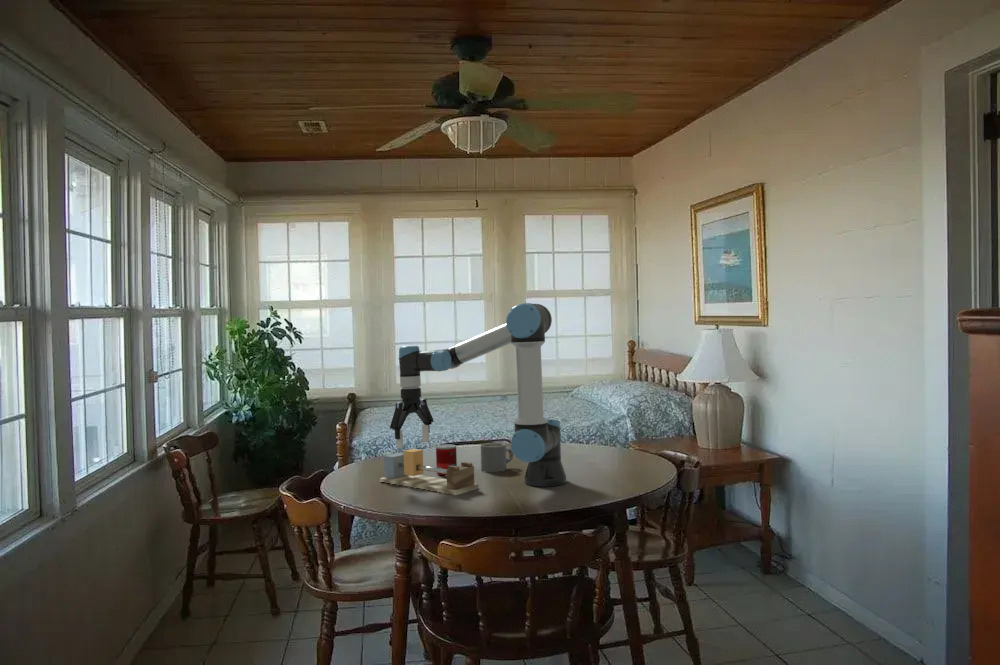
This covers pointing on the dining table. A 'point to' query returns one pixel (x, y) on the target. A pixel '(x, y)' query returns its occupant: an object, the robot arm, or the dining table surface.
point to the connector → (393, 465)
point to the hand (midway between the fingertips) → (413, 445)
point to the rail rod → (427, 468)
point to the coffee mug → (494, 457)
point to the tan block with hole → (413, 461)
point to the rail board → (441, 480)
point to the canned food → (445, 456)
